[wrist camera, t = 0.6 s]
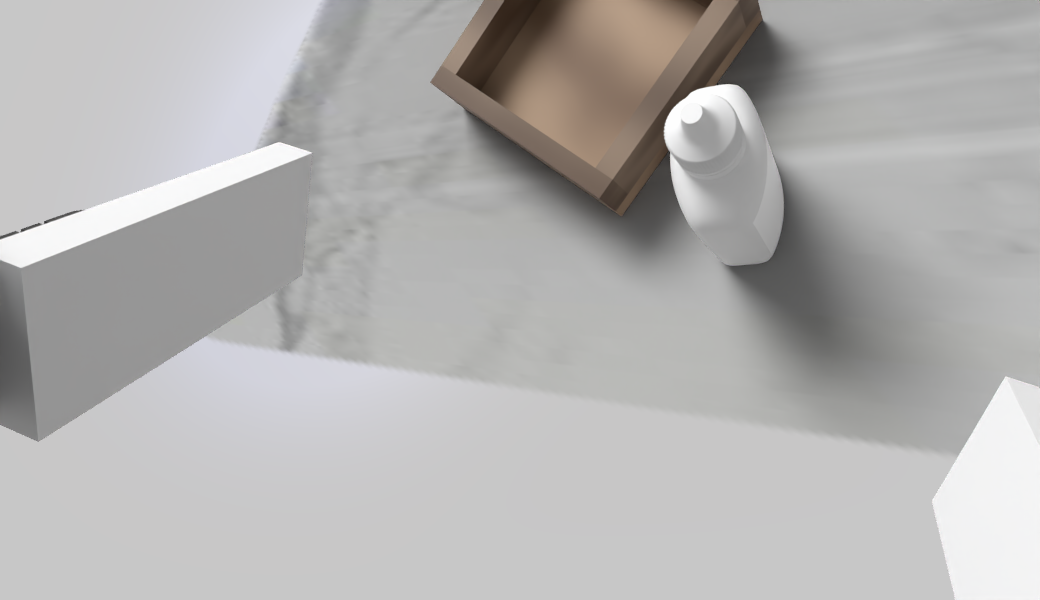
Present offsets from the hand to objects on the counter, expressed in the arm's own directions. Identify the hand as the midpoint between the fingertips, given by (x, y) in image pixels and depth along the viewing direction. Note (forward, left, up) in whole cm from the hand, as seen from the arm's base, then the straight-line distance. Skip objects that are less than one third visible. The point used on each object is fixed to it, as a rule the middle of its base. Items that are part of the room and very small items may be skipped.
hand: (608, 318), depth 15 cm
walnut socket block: (-8, -15, -21) cm, 27 cm away
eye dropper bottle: (-6, -5, -22) cm, 23 cm away
